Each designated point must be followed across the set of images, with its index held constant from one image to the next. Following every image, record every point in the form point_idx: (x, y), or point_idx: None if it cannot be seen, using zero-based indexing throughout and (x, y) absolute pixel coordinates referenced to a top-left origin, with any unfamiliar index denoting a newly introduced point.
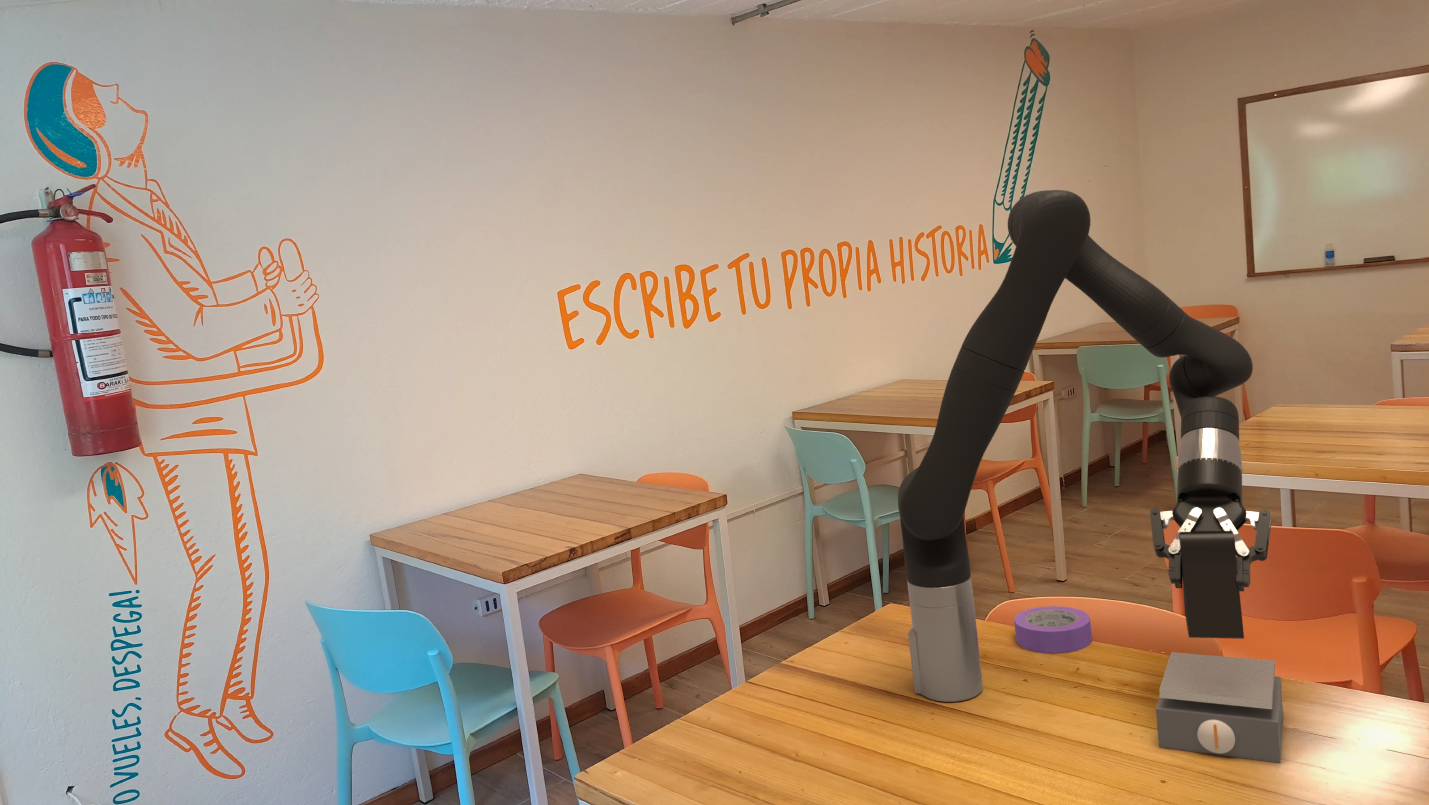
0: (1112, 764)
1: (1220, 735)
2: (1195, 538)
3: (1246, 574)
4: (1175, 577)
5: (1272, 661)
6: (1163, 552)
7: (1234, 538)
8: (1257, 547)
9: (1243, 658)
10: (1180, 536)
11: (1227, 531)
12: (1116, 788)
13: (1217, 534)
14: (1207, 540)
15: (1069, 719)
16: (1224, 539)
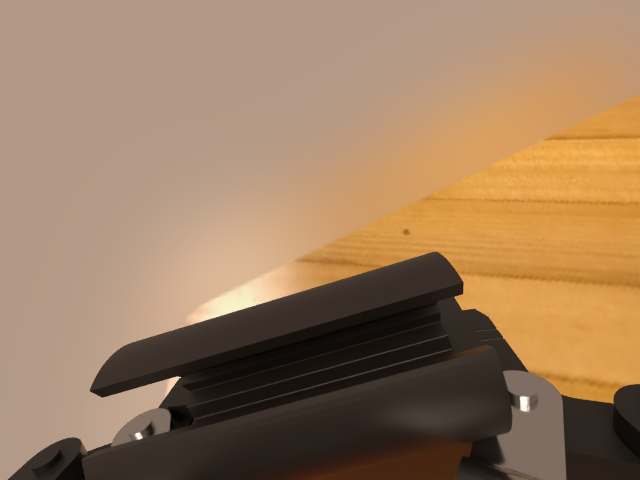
0: (473, 241)
1: None
2: (341, 284)
3: None
4: (449, 298)
5: None
6: (591, 404)
7: (116, 353)
8: (61, 462)
9: None
10: (446, 266)
11: (121, 448)
12: (445, 197)
13: (195, 350)
14: (272, 303)
15: (610, 343)
16: (174, 335)
